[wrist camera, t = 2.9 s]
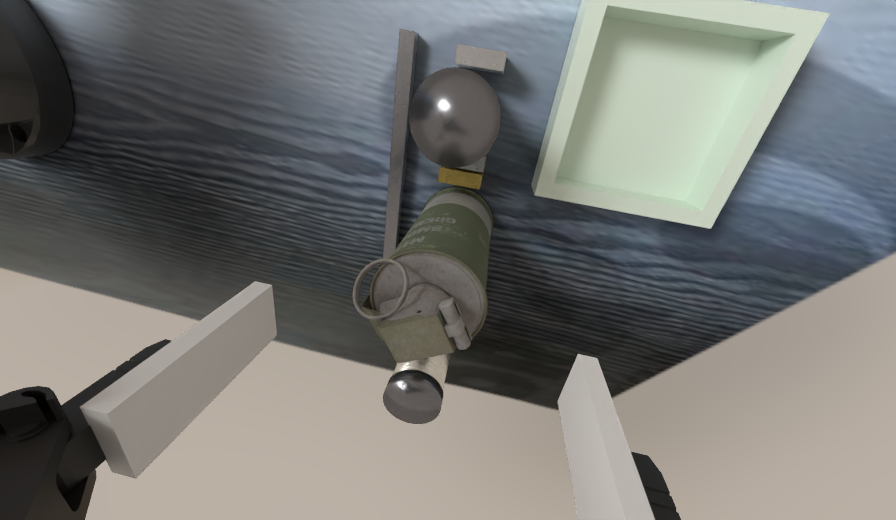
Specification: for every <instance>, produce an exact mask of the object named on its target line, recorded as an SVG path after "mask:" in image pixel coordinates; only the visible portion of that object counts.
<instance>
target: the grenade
mask: <svg viewBox="0 0 896 520" xmlns="http://www.w3.org/2000/svg"><path fill="white" fill-rule="evenodd" d="M492 231H493V215H492V212H491V209H490V207H489V205H488V204H487V202H486V201H485V200H484V199H483V198H482V197H481V196H480V195H479V194H477V193H475V192H474V191H472V190H469V189H466V188H461V187H450V188H446V189H443V190H440V191H438V192H437V193H435V194H434V195H433V196H431V197H430V198H429V200H428V201H427V202H426V204H425V206H424V208H423V211H422V213H421V214H420V216H419V217H418V218H417V220H416V221H415V223H414V224H413V225H412V227H411V228H410V230H409V231H408V233H407V234H406V235H405V237H404V238H403V240H402V241H401V242H400V244H399V245H398V247H397V248H396V250H395V251H394V252H393V254H392V255H391V256H390V257H389V258H388V259H386V258H385V259H379V260H375V261H373V262H372V263H370V264H369V265H367V266H366V267H365V268H364V269H363V270H362V271H361V272H360V274H359V275H358V277H357V279H356V281H355V285H354V288H353V301H354V305H355V307H356V309H357V311H358V312H359V313H360V314H361V315H362V316H363V317H366V318H368V319H369V321H370V323H371V325H372V326H373V328H374V330H375V332H376V334H377V335H378V337H379V338H381V339H382V340H384V341H385V342H386V344H387V346H388V348H389V350H390V351H391V353H392V355H393V357H394V359H395V360H396V362H397V363H404V362H410V361H415V360H419V359H424V358H429V357H434V356H439V355H444V354H449V353H453V352H454V351H455V348H458V349H460V350H464V349H467V348H468V347H469V346H470V345H471V342H470V340H472V338H474V337H475V336H476V334H477V333H478V332H479V331H480V329H481V328H482V326H483V324H484V322H485V319H486V315H487V310H488V298H487V294H486V285H487V273H488V261H489V248H490V237H491V234H492ZM380 264H381V266H380V267H379V268H378V269H377V271H376V273H375V274H374V277H373V279H372V282H371V286H370V292H369V294H368V295H367V297H366V298H365V300H364V301H363V303H362V305H361V307H362V309H363V310H364V312H365V313H364V312H363V311H362V310H361V309H360V308H359V305H358V304H359V299H358V293H359V288H360V285H361V282H362V280H363V278H364V277H365V275H366V274H367V273H368V272H369V271H370V270H371V269H372V268H374V267H376V266H378V265H380Z"/></svg>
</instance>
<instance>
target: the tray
mask: <svg viewBox="0 0 896 520" xmlns="http://www.w3.org/2000/svg"><path fill="white" fill-rule="evenodd" d="M829 14H830V13H824V12H817V11H811V10H804V9H797V8H790V7H784V6H777V5H770V4H763V3H757V2H750V1H743V0H581V2H580V5H579V9H578V13H577V17H576V20H575V24H574V28H573V31H572V35H571V39H570V43H569V46H568V50H567V54H566V57H565V61H564V65H563V68H562V72H561V76H560V80H559V83H558V87H557V91H556V94H555V98H554V102H553V105H552V109H551V113H550V117H549V120H548V124H547V128H546V131H545V135H544V139H543V142H542V146H541V150H540V154H539V157H538V161H537V165H536V168H535V172H534V176H533V179H532V183H531V187H532V189H533V192H534V195H535V196H541V197H546V198H551V199H557V200H562V201H567V202H572V203H578V204H583V205H588V206H593V207H599V208H604V209H609V210H614V211H620V212H625V213H630V214H635V215H641V216H646V217H651V218H656V219H662V220H667V221H672V222H678V223H683V224H688V225H693V226H699V227H704V228H709V229H711V228H712V226H713V224H714V222H715V220H716V218H717V217H718V215H719V213H720V211H721V209H722V208H723V206H724V204H725V202H726V200H727V199H728V197H729V195H730V193H731V191H732V190H733V188H734V186H735V184H736V182H737V180H738V179H739V177H740V175H741V173H742V171H743V170H744V168H745V166H746V164H747V162H748V161H749V159H750V157H751V155H752V153H753V151H754V150H755V148H756V146H757V144H758V142H759V141H760V139H761V137H762V135H763V133H764V132H765V130H766V128H767V126H768V124H769V123H770V121H771V119H772V117H773V115H774V113H775V112H776V110H777V108H778V106H779V104H780V103H781V101H782V99H783V97H784V95H785V94H786V92H787V90H788V88H789V86H790V84H791V83H792V81H793V79H794V77H795V75H796V74H797V72H798V70H799V68H800V66H801V65H802V63H803V61H804V59H805V57H806V56H807V54H808V52H809V50H810V48H811V46H812V45H813V43H814V41H815V39H816V37H817V36H818V34H819V32H820V30H821V28H822V27H823V25H824V23H825V21H826V19H827V17H828V16H829Z"/></svg>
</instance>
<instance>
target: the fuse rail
mask: <svg viewBox="0 0 896 520" xmlns="http://www.w3.org/2000/svg"><path fill="white" fill-rule="evenodd" d="M417 45H418V34H417V33H416V32H414V31H408V30H402V29H400V32H399V46H398V59H397V73H396V87H395V101H394V114H393V128H392V142H391V156H390V169H389V183H388V197H387V210H386V224H385V238H384V252H383V259H385V258H386V259H388V258H389V257H390V256H391V255H392V254H393V252H394V251H395V250H396V248H397V247H398V245H399V235H400V224H401V214H402V203H403V193H404V182H405V172H406V161H407V151H408V140H409V129H411V133H412V136H413V139H414V141H415V143H416V145H417V146H418V148H419V149H420V151H421V152H422V153H423V154H424V155H425V156H426V157H427V158H429V159H430V160H431V161H433V162H435V163H437V164H439V165H441V167H440V171H439V178H438V182H442V183H447V184H452V185H458V186H463V187H468V188H473V189H479V190H480V186H481V182H482V177H483V172H484V167H485V163H486V158H487V153H488V152H489V150H490V149H491V148H492V146H493V145H494V143H495V141H496V139H497V136H498V133H499V129H500V123H501V111H500V105H499V101H498V98H497V96H496V94H495V92H494V90H493V89H492V87H491V86H490V85H489V83H488V82H487V81H486V80H485V79H484V78H482V77H481V76H480V75H478V74H477V73H475V72H473V71H470V70H468V69H464V68H469V69H475V70H481V71H487V72H493V73H498V74H503V73H504V68H505V63H506V58H507V52H503V51H496V50H490V49H484V48H478V47H472V46H466V45H460V44H457V50H456V57H455V64H456V65H457V66H459V67H463V68H456V67H455V68H446V69H442V70H440V71H437V72H435V73H433V74H432V75H430V76H429V77H428V78H426V79H425V80H424V81H423V82H422V83H421V85H420V86H419V87H418V89H417V91H416V92H415V94H414V97H413V87H414V77H415V66H416V56H417ZM412 98H413V99H412ZM449 358H450V353H449V354H444V355H439V356H434V357H429V358H424V359H419V360H415V361H410V362H404V363H397V366H396V368H395V371H394V373H393V376H392V377H391V378H390V380H389V382H388V384H387V387H386V389H385V392H384V394H383V402H384V405H385V407H386V408H387V410H388V411H389V412H390V413H391V414H392V415H393V416H395V417H396V418H398V419H400V420H402V421H405V422H408V423H413V424H423V423H427V422H430V421H432V420H434V419H435V418H436V417H437V416H438V415H439V413H440V410H441V405H442V399H443V387H444V382H445V377H446V373H447V368H448V363H449Z"/></svg>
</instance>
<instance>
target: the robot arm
mask: <svg viewBox="0 0 896 520" xmlns="http://www.w3.org/2000/svg"><path fill="white" fill-rule="evenodd" d="M72 122H73V99H72V93H71V88H70V84H69V80H68V77H67V73H66V71H65V68H64V65H63V63H62V60H61V58H60V56H59V54H58V51H57V49H56V47H55V45H54V43H53V41H52V40H51V38H50V36H49V34H48V33H47V31H46V29H45V28H44V26H43V25H42V23H41V22H40V20H39V19H38V17H37V16H36V14H35V13H34V12H33V10H32V9H31V8H30V6H29V5H28V4H27V3H26V1H25V0H0V159H17V158H25V157H34V156H42V155H47V154H50V153H52V152H54V151H56V150H57V149H59V148H60V147H61V146H62V145H63V144H64V142H65V141H66V139H67V138H68V136H69V134H70V131H71V127H72ZM276 335H277V331H276V321H275V311H274V300H273V290H272V285H270V284H265V283H261V282H256V281H255V282H254V283H252V284H251V285H250V286H248V287H247V288H245V289H244V290H243V291H241V292H240V293H238V294H237V295H236V296H234V297H233V298H231V299H230V300H229V301H227V302H226V303H224V304H223V305H222V306H220V307H219V308H217V309H216V310H215V311H213V312H212V313H210V314H209V315H208V316H206V317H205V318H203V319H202V320H201V321H199V322H198V323H196V324H195V325H194V326H192V327H191V328H190V329H188V330H187V331H185V332H184V333H183V334H181V335H180V336H178V337H177V338H175V339H174V340H173V341H170V340H166V339H165V340H163V341H160V342H158V343H156V344H153V345H151V346H149V347H146V348H145V349H143V350H142V351H140V352H139V353H138V354H136V355H135V356H133V357H132V358H130V360H129V361H126V362H124V363H123V364H121V365H120V366H118V367H117V368H116V370H115V371H114V370H113V371H111V372H110V373H108V374H107V375H105V376H104V377H102V378H101V379H99V380H98V381H96V382H95V383H93V384H92V385H91V386H89V387H88V388H86V389H85V390H83V391H82V392H80V393H79V394H77V395H76V396H75V397H73V398H72V399H70V400H69V401H67V402H66V403H64V404H63V405H60V403H59V401H58V399H57V397H56V395H55V393H54V392H53V391H52V390H51V389H50V388H47V387H40V386H37V387H28V388H23V389H20V390H16V391H12V392H9V393H7V394H5V395H2V396H0V520H85V517H86V513H87V509H88V506H89V502H90V499H91V495H92V492H93V488H94V484H95V481H96V470H95V469H96V468H97V467H98V466H99V465H100V464H101V463H102V462H104V461H105V460H106V461H107V463H108V465H109V467H110V469H111V471H112V472H114V473H118V474H121V475H125V476H128V477H132V478H137V477H138V476H139V475H140V474H141V473H142V472H143V471H144V470H145V469H146V468H147V467H148V466H149V465H150V464H151V463H152V462H153V461H154V460H155V458H157V457H158V456H159V455H160V454H161V453H162V452H163V450H164V449H165V448H166V447H167V446H168V445H169V444H170V443H171V442H172V441H173V440H174V439H175V438H176V437H177V436H178V435H179V434H180V433H181V432H182V431H183V430H184V429H185V428H186V427H187V426H188V425H189V424H190V423H191V422H192V421H193V420H194V419H195V418H196V417H197V416H198V415H199V414H200V413H201V412H202V411H203V410H204V409H205V408H206V407H207V406H208V405H209V404H210V403H211V401H213V399H215V398H216V396H218V394H219V393H220V392H221V391H222V390H223V389H224V388H225V387H226V386H227V385H228V384H229V383H230V382H231V381H232V380H233V379H234V378H235V377H236V376H237V375H238V374H239V373H240V372H241V371H242V370H243V369H244V368H245V367H246V366H247V365H248V364H249V363H250V362H251V361H252V360H253V359H254V358H255V357H256V356H257V355H258V354H259V353H260V351H262V350H263V349H264V348H265V347H266V346H267V345H268V344H269V343H270V342H271V341H272V340H273V339H274V338H275V336H276ZM558 407H559V413H560V418H561V424H562V430H563V436H564V441H565V448H566V453H567V459H568V464H569V470H570V476H571V482H572V488H573V493H574V499H575V505H576V511H577V517H578V520H681V518H680V516H679V514H678V513H677V512H676V507H675V504H674V502H673V499H672V497H671V496H670V495H669V493H670V492H669V490H668V488H667V485H666V483H665V480H664V478H663V476H662V474H661V472H660V471H659V470H658V468H657V467H656V466H655V464H654V463H653V462H652V460H651V459H650V458H649V456H647V455H642V454H638V453H634V452H631V451H630V449H629V446H628V443H627V440H626V437H625V434H624V432H623V429H622V426H621V423H620V420H619V418H618V415H617V412H616V409H615V406H614V404H613V401H612V398H611V395H610V392H609V390H608V387H607V384H606V381H605V379H604V376H603V373H602V370H601V367H600V365H599V362H598V359H597V358H594V357H590V356H585V355H581V354H578V355H577V357H576V360H575V362H574V364H573V367H572V369H571V371H570V374H569V376H568V378H567V381H566V383H565V385H564V387H563V390H562V392H561V394H560V397H559V399H558Z"/></svg>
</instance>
